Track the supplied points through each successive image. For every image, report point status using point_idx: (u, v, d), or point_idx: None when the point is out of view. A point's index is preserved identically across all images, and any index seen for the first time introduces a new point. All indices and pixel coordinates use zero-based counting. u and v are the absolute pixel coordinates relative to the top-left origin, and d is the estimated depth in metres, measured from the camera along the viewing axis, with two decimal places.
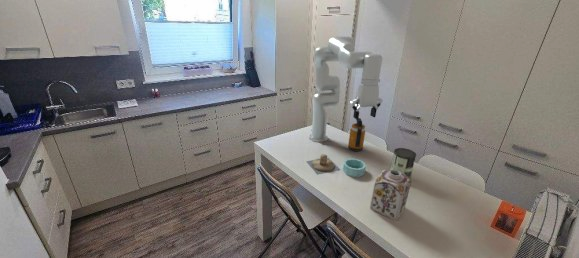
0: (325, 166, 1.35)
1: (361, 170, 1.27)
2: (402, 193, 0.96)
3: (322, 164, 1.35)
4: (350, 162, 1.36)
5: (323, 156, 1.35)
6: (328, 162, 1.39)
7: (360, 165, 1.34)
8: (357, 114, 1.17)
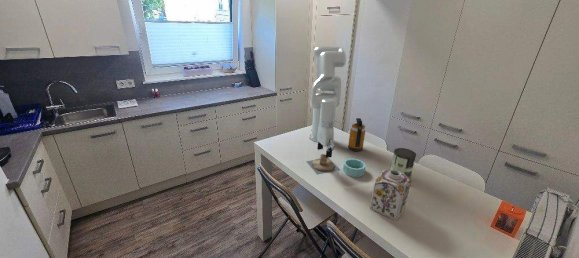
0: (325, 166, 1.35)
1: (361, 170, 1.27)
2: (402, 193, 0.96)
3: (322, 164, 1.35)
4: (350, 162, 1.36)
5: (323, 156, 1.35)
6: (328, 162, 1.39)
7: (360, 165, 1.34)
8: (331, 152, 1.29)
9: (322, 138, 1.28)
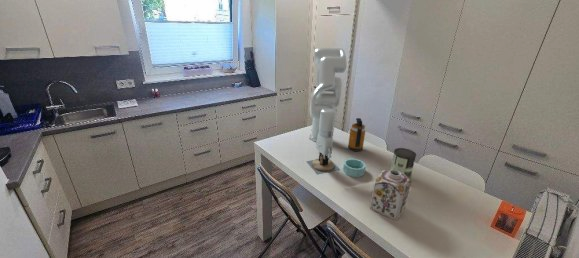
0: (325, 166, 1.35)
1: (361, 170, 1.27)
2: (402, 193, 0.96)
3: None
4: (350, 162, 1.36)
5: (323, 156, 1.35)
6: (328, 162, 1.39)
7: (360, 165, 1.34)
8: (327, 160, 1.34)
9: (321, 147, 1.30)
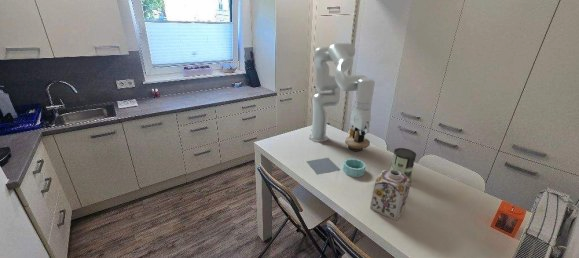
0: (360, 143, 1.24)
1: (361, 170, 1.27)
2: (402, 193, 0.96)
3: (357, 141, 1.24)
4: (350, 162, 1.36)
5: (358, 132, 1.24)
6: None
7: (360, 165, 1.34)
8: (363, 136, 1.23)
9: (358, 121, 1.19)
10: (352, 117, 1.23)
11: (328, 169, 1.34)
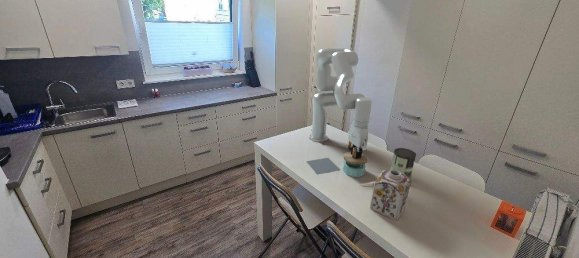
0: (358, 159, 1.27)
1: (361, 170, 1.27)
2: (402, 193, 0.96)
3: None
4: None
5: (356, 149, 1.27)
6: None
7: (360, 165, 1.34)
8: None
9: (355, 139, 1.23)
10: (350, 134, 1.27)
11: (328, 169, 1.34)
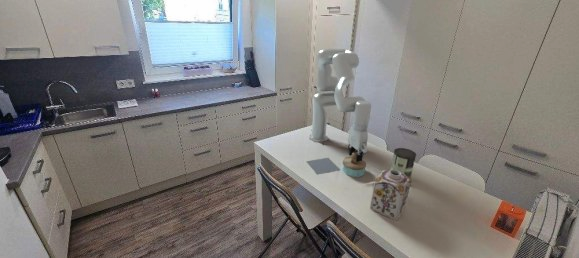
0: (357, 164, 1.29)
1: (361, 170, 1.27)
2: (402, 193, 0.96)
3: (354, 162, 1.29)
4: None
5: (355, 154, 1.29)
6: None
7: None
8: (362, 156, 1.26)
9: (355, 141, 1.24)
10: (350, 137, 1.28)
11: (328, 169, 1.34)
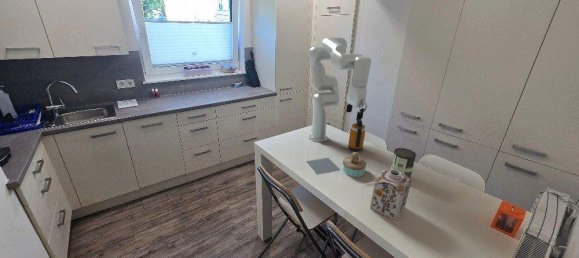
0: (357, 164, 1.29)
1: (361, 170, 1.27)
2: (402, 193, 0.96)
3: (354, 162, 1.29)
4: None
5: (355, 154, 1.29)
6: (359, 160, 1.33)
7: None
8: (362, 114, 1.24)
9: (353, 99, 1.23)
10: (348, 95, 1.27)
11: (328, 169, 1.34)
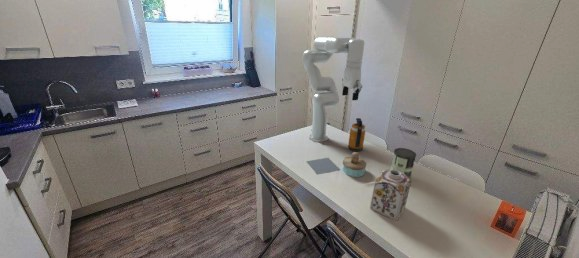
0: (357, 164, 1.29)
1: (361, 170, 1.27)
2: (402, 193, 0.96)
3: (354, 162, 1.29)
4: None
5: (355, 154, 1.29)
6: (359, 160, 1.33)
7: None
8: (357, 95, 1.29)
9: (349, 80, 1.28)
10: (344, 78, 1.32)
11: (328, 169, 1.34)
